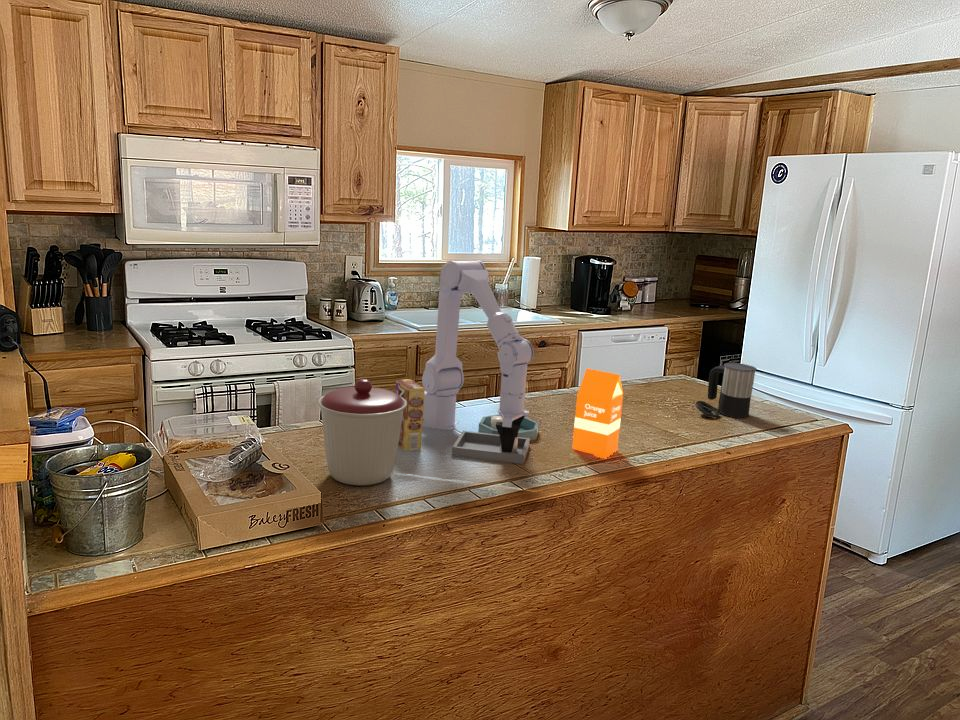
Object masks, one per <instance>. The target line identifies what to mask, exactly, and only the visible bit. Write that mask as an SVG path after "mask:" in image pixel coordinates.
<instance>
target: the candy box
mask: <svg viewBox="0 0 960 720" xmlns="http://www.w3.org/2000/svg"><path fill="white" fill-rule="evenodd" d="M425 391H426V390H425V388H424V386H423V385H420V384H419V383H417V382H416V381H415V380H413V379H410V378H409V379H408V378H407V379H406V378H405V379H396V380H395V393H396V394H398V395H399V396H400V397H402V398H404V399H405V400H406V401H407V406H406V408H405V409H404V410H403V417H402V424H401V430H400V437H399V443H398V446H400V447H401V448H402V449H403V450H404V451H417V450H421V449H422V439H423V438H422V437H423V427H422V424H423V409H424V394H425Z"/></svg>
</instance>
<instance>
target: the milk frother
mask: <svg viewBox="0 0 960 720" xmlns="http://www.w3.org/2000/svg"><path fill="white" fill-rule="evenodd" d="M757 370H758V368H757V367H755V366H753V365H750V364H744V363H740V362H739V363H737V362H726V363H724V364H723V365H718V366H715V367H713V368H712V369H711V370H710V371H709V375H708V388H707V399H708V400H711V401H712V400H715V399H717V398H719V399H718V408H717V407H715V406H713V405H711V404H709V403H708V402H705V401H702V400H697V401H696V402H695V407H696V408H697V409H698V411H699V412H700V413H702V414H703V415H705V417H706V416H708V417H710V418H718V417H719V415H722V414H723V415H722V416H725V415H726V417H729V416H730V418H735V417H737V418H736V419H744V418H745V417H747V418H749V417H750V406H751V399H752V393H753V387H754V381H755V375H756V371H757ZM720 374H722V380H721V387H720V394H719V397H717V396H718V387H719V377H720ZM718 412H719V413H718ZM720 413H721V414H720ZM743 417H744V418H743Z"/></svg>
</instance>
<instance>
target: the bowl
mask: <svg viewBox="0 0 960 720" xmlns="http://www.w3.org/2000/svg"><path fill="white" fill-rule="evenodd" d="M493 416H500V414H499V413H498V414H493V415H486V416H482V418H481V420H480V421H479V423H478V430H477V431H478V433H487V434H496V435H499V433H498V431H497V430H495V429H493V428H491V417H493ZM520 426H521V427H520V429H519V431H518V435H517V437H522V438H530V442H532V441H537V437H538V434H539V431H540V430H539V429H540V422H538V421H536V420H534V419H532V418H529V417H527V416H525V417H524V419H523V421H522V422H521V425H520Z"/></svg>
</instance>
